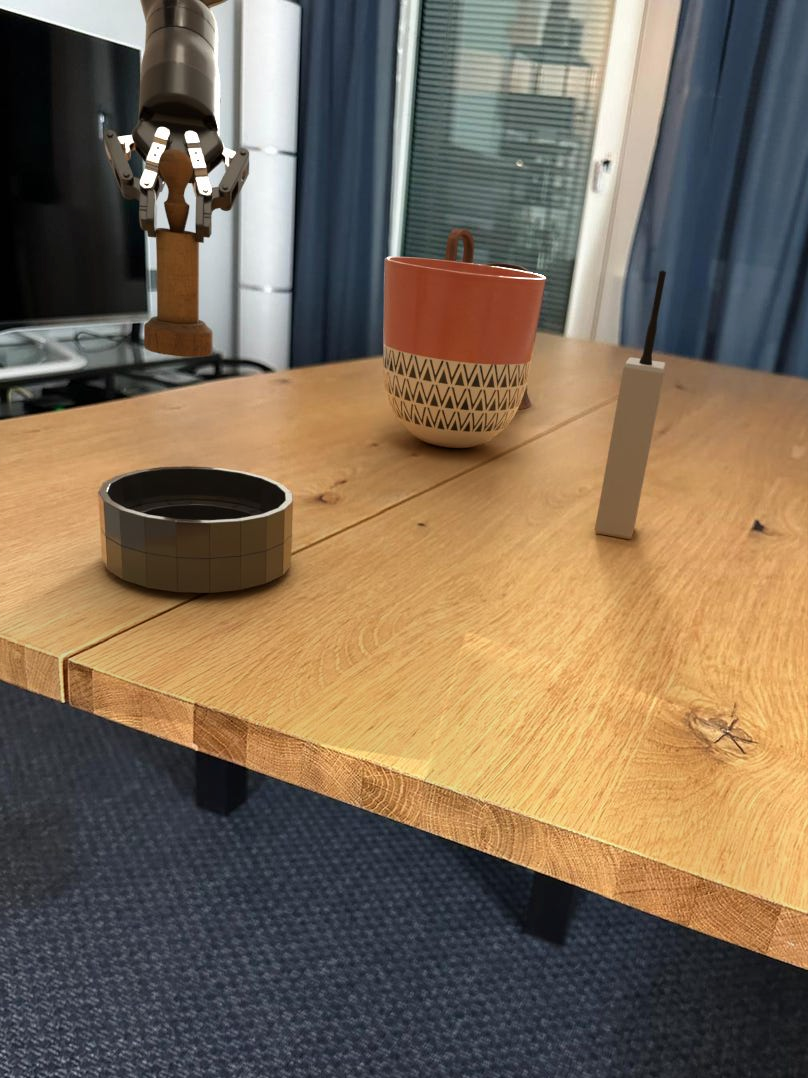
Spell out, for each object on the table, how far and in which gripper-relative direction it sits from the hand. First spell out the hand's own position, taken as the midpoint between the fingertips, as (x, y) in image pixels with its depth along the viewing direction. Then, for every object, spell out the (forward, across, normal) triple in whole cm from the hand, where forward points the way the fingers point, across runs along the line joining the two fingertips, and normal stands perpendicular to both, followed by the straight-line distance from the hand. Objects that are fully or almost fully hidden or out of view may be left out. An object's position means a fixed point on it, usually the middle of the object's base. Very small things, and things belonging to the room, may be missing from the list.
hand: (175, 233), depth 86 cm
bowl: (+35, +3, -3) cm, 35 cm away
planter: (+3, +32, +29) cm, 44 cm away
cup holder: (-18, +41, +51) cm, 68 cm away
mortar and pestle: (+7, 0, +9) cm, 11 cm away
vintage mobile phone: (+26, +43, +6) cm, 51 cm away
